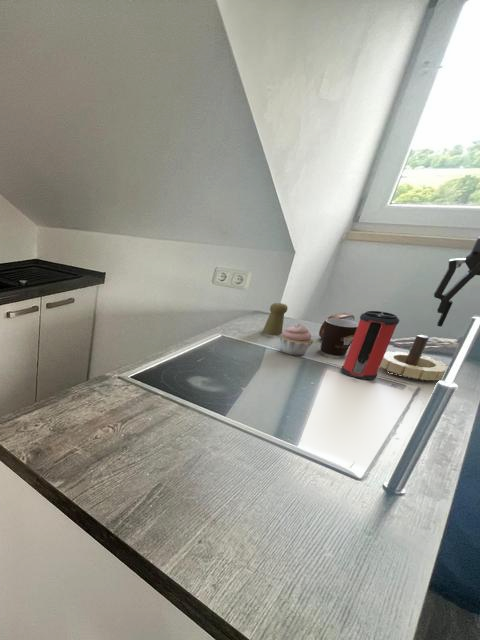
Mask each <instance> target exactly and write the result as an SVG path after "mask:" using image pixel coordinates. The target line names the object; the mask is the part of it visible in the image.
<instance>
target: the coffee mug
mask: <svg viewBox="0 0 480 640" xmlns="http://www.w3.org/2000/svg"><path fill="white" fill-rule="evenodd" d="M324 321H325V326H324V332H323V337H321V344H320V349H319V351H320V352H322V353H323V354H326V355H330V356H335V357H342V356H346V355H347V353H348V351H349V349H350V346H351V343H352V340H353V338H354V335H355V332H356V329H357V327H358V324H359V322H356V321H355V320H354V321H350V320H344V319H327V318H326V319H325V320H324Z"/></svg>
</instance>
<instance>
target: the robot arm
mask: <svg viewBox="0 0 480 640" xmlns="http://www.w3.org/2000/svg"><path fill="white" fill-rule="evenodd" d="M463 264H465V265H466V267H467V269H468V270H467V271H466V273H464V275H463V276H462V277H461V278H459V280H457V282H456V283H455V284H454V285H453V286H451V288H450V289H449V290H448V291H447V292H446V293H445V294H444V291H445V290H446V288H447V286H448V284H449V283H450V282H451V279H452V278H453V275H454V274H455V272H456V270H457V269H458V268H460V267H461V266H462V265H463ZM475 276H480V236H479V237H476V241H475V242H474V245H473V246H472V249H471V252H470V253H469V254H468V255H467V256H465V258H464V257H463V258H450V259H449V260H448V267H447V270H446V272H445V273H444V275H443V277H442V279H441V280H440V281H439V284H438V285H437V288H436V289H435V291H434V293H433V297H434V298H435V299H438V300H439V301H440V303H439V305H438V307H437V309H436V310H437V314H440V317H439V319H438V321H437V323H436V325H437V327H443V325H444V323H445V320H446V318H447V316H448V314H449V312H450V310H451V307H452V305H453V300H451V299H452V298H453V297H455V296H456V294H458V293H459V291H460V290H462V289H463V287H465V286H466V285H467V284H468V282H470V281H471V280H472V279H473V278H474V277H475Z"/></svg>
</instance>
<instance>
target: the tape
mask: <svg viewBox="0 0 480 640" xmlns="http://www.w3.org/2000/svg"><path fill="white" fill-rule="evenodd" d="M408 355H409V352H406V351H393V350H392V351H391V350H390V351H386V352H385V355H384V357H383V359H382V362H381V364H380V367H381V368H383V370H386V371H387V372H388V371H391V372H394V373H396V374H399V375H401V374H402V376H407V377H412V378H416V379H418V378H419V379H423V380H428V381H441V380H443V379H442V377H443V375H444V373H445V371H446V369H447V367H448V366H449V365H448V364H446V363H444V362H443V361H441V360H438V359H435V358H432V357H429V356H426V355H421V357H420V359H419V361H418V363H417V366H413V365H408V364H405V361H406V359H407V357H408ZM402 376H401V377H402ZM407 377H406V378H407ZM412 378H411V379H412ZM416 379H415V380H416ZM440 379H441V380H440Z"/></svg>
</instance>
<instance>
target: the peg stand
mask: <svg viewBox="0 0 480 640" xmlns="http://www.w3.org/2000/svg"><path fill="white" fill-rule="evenodd" d="M429 339H430V336H428V335H424V334H417V335H416V336H415V338H414V341H413V343H412V345H411V348H410V351H408V353H409V355H408V357H407V359H406V361H405V364H408V365H413V366H417V363H418V361H419V359H420V357H421V355H422V354H423V352H424V350H425V348H426V346H427V343H428V342H429ZM422 356H423V355H422ZM387 372H389V373H393V374H392V375H394V374H396V373H394V372H391V371H388V370H387ZM389 373H387V374H388V375H390V374H389ZM401 375H402V374H401ZM394 376H395V375H394ZM396 376H398V377H400V376H399V374H397V375H396ZM401 377H403V376H401ZM403 378H404V377H403ZM405 378H407V379H412V380H416V381H422V380H423V379H419V378H418V379H416V378H414V379H413V378H412V377H410V378H408V377H407V376H406V377H405ZM428 381H429V380H423V381H422V382H426V383H427V382H428Z"/></svg>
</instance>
